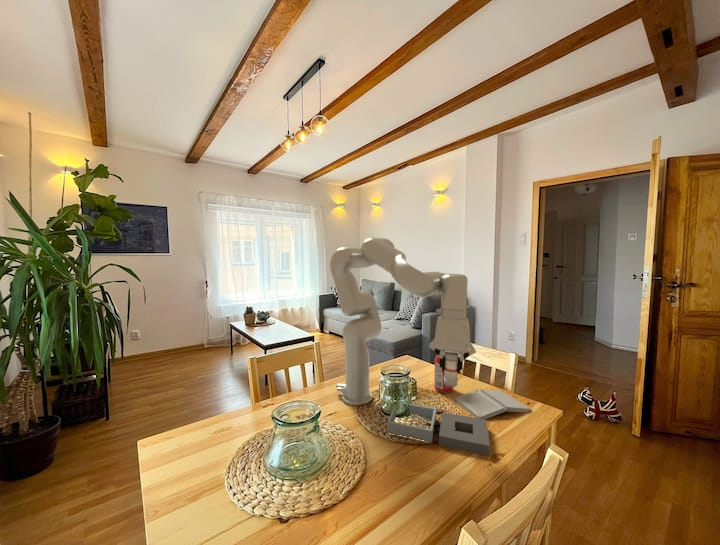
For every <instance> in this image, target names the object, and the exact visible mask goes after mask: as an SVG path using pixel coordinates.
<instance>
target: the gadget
mask: <svg viewBox="0 0 720 545" xmlns="http://www.w3.org/2000/svg"><path fill="white" fill-rule="evenodd" d="M454 401H455V402H456V403H457V404H458V405H459V406H461V407H462V408H463V409H465V410H466V411H467V412H468V413H469V414H470V415H471V416H472V417H473V418H478V419H484V420H487V419H490V418H493V417H495V416H498V415H500V414H502V413H505V412H511V413H512V412H515V413H525V412H526V413H528V412H527V411H530V410H531V411H532V408H531V407H530V406H527V405H526V404H524V403H523V402H522V401H519V400H518V399H516V398H514V397H513V396H512V395H510V394H508V393H506V392H504V390H493V389H484V388H481V389H480V390H479V389H476V390H471V391H470V392H467V393H463V394H461V395H459V396H456V397H454ZM531 411H530V412H531Z"/></svg>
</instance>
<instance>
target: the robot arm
mask: <svg viewBox="0 0 720 545" xmlns="http://www.w3.org/2000/svg"><path fill="white" fill-rule="evenodd" d="M360 246H361V247H358V246H356V247H355V246H347V247H346V246H345V247H343V246H342V247H340V248H337V249H336V250H335V251H334V252H333V253H332V254H331V257H330V261H329V268H330V272H331V275H332V279H333V281H334V284H335V290H336V294H337V298H338V302H339V306H340V309H341V312H342V314H343V315H344V316H346V317H355V316H358V315H359V317H358V318H354V319H352V320H349V321H347V322H346V323H345V325H344V327H343V328H342V337H343V344H344V354H345V355H344V356H345V359H344V360H345V361H344V362H345V364H344V365H345V366H344V368H345V369H344V370H345V371H344V372H345V373H344V374H345V376H344V377H345V380H344V381H345V383H344V384H342V383H337V384H336V386H335V388H336V391H337V392H342V393H341V400H342V401H343V402H344V403H345V404H348V405H350V406H361V405H360V404H365V403H368V402H369V401H371V400H372V398H373V399H374V394H373V392H372V391H371V390H370V351H369V348H368V346H367V342H369V341H371V340H373V339H375V338H377V337H378V336H379V335H380V334H381V332H382V322H381V319H380V318H381V317H380V314H379V310H378V306H377V302H376V299H375V298H374V296H373V294H372V293H371V292H369V291H367V290H365V289H364V290H359V287H358V282H357V280H356V277H355V276H354V274H353V273H352V271H351V269H365V268H369V267H371V266H375V265H376V266H378V267H380V268H381V269H382V270H384V271H386V272H387V273H389V274H390V275H391V277H392V278H393V279H394V281H395V282H396V283H397V284H398V285H399V286H400V287H402V288H403V289H405V290H406V291H408V292H410V293H411V294H412V295H414V296H418V297H419V298H420V297H421V298H426V297H430V296H436V295H441V301H440V302H441V303H440V308H436V309H435V313H437V314H439V315H440V316H438V317H437V321H436V326H435V334H434V335H435V337H434V338H433V340H432V341H431V342H430V343H429V344H428V348H429V349H431V350H432V351H434V353H435V354H436V356H437V355H438V356H439V358H440V367H441V368H442V371H444V366H445V357H444V353H445V351H452V352H458V353H459V360H458V375H460V374H461V371H463V369H464V367H463V365H464V361H465V360H466V359H467V358H469V357H470V356H472V355H474V354H476V352H477V350H476V349H475V346H474V344H473V343H472V342H471V339H470V338H471V337H470V336H471V334H470V333H471V331H470V323H469V319H468V318H467V306H468V305H467V303H468V302H467V301H468V283H469V282H468V276H466V275H465V274H462V273H461V274H460V273H444V272H440V271H426V272H423V271H420V270H419V269H418V268H415V267H414V266H412V265H411V264H409V263H408V262H407V258H406V254H405V253H404V252H403V251H401V250H399V249H397V248H395V245H394V243H393V242H392V241H391V240H390V239H388V238H383V237H370V238H366V239H365V240H364V241H363V242H362V244H361V245H360ZM372 401H373V400H372ZM372 401H371V402H372ZM368 404H369V403H368ZM365 405H366V404H365Z"/></svg>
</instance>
